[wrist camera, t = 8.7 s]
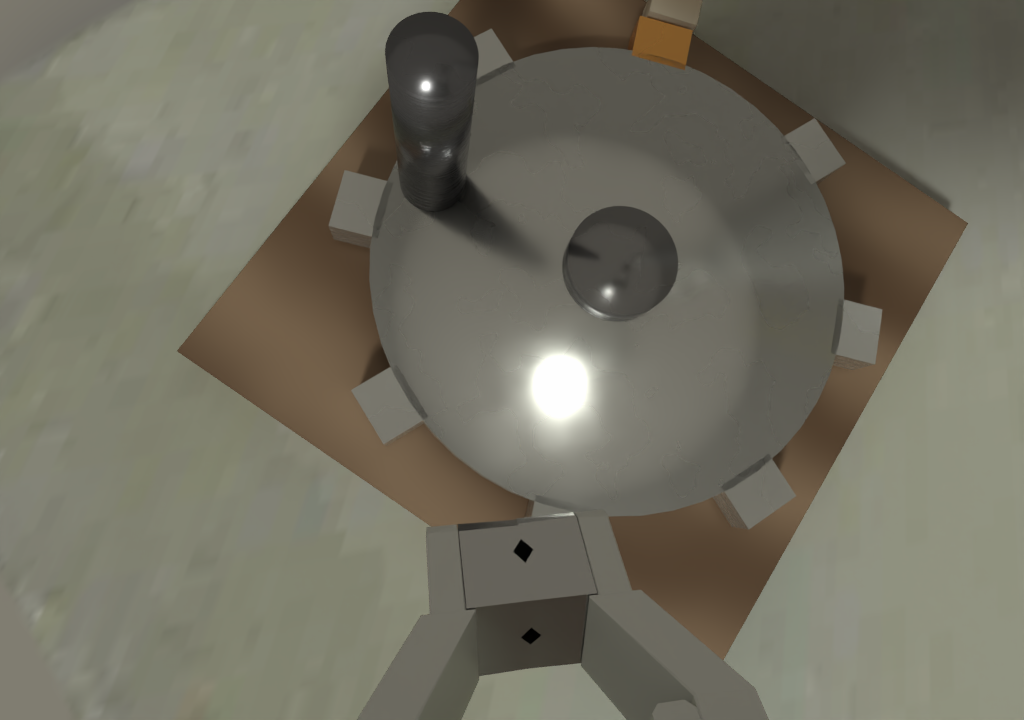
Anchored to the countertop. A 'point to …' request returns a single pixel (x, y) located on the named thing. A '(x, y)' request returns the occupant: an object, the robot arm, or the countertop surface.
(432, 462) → the sprocket base
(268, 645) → the countertop surface
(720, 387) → the sprocket
